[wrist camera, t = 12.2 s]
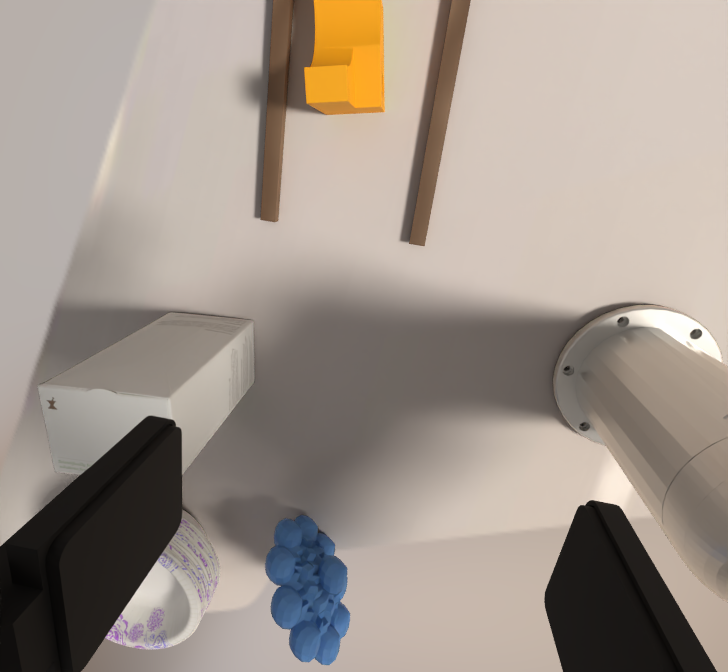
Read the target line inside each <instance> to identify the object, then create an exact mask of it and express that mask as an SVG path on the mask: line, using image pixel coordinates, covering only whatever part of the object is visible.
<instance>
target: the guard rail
mask: <svg viewBox="0 0 728 672" xmlns="http://www.w3.org/2000/svg"><path fill="white" fill-rule="evenodd" d="M470 1H471V0H452V3H451V8H450V14H449V20H448V26H447V31H446V37H445V43H444V48H443V54H442V60H441V65H440V71H439V77H438V82H437V88H436V94H435V100H434V105H433V111H432V117H431V122H430V128H429V134H428V139H427V145H426V151H425V157H424V162H423V168H422V174H421V179H420V185H419V191H418V196H417V202H416V208H415V213H414V219H413V225H412V231H411V236H410V242H409V244H414V245H420V246H425V240H426V235H427V230H428V224H429V219H430V214H431V208H432V203H433V198H434V192H435V187H436V182H437V176H438V171H439V166H440V160H441V155H442V150H443V145H444V139H445V134H446V129H447V123H448V118H449V113H450V107H451V102H452V97H453V91H454V86H455V81H456V75H457V70H458V65H459V59H460V54H461V49H462V43H463V38H464V33H465V27H466V22H467V17H468V11H469V6H470ZM293 5H294V0H273V12H272V29H271V47H270V64H269V82H268V99H267V116H266V134H265V151H264V168H263V186H262V203H261V220H265V221H271V222H277V221H278V215H279V201H280V187H281V173H282V159H283V145H284V131H285V117H286V103H287V89H288V75H289V61H290V47H291V33H292V19H293Z"/></svg>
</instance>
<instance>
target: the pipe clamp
mask: <svg viewBox="0 0 728 672" xmlns="http://www.w3.org/2000/svg"><path fill="white" fill-rule="evenodd" d="M314 10H315V47H314V55H313V60H312V64H311V66H310V67H304V72H305V88H306V103H307V104H309V105H310V106H312V107H314V108H315V109H317V110H319V111H321V112H322V113H324V114H326V115H334V114H355V113H375V112H385V107H384V35H383V5H382V1H381V0H314Z"/></svg>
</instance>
